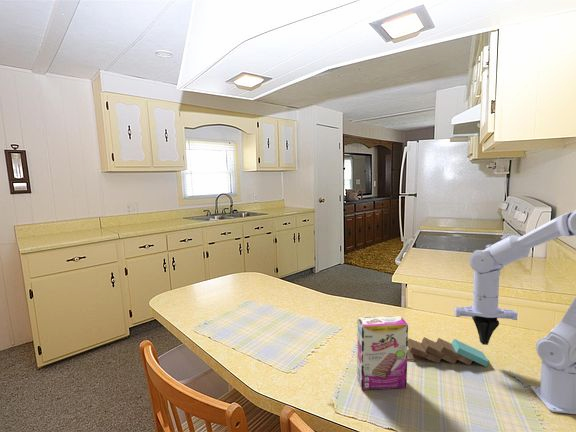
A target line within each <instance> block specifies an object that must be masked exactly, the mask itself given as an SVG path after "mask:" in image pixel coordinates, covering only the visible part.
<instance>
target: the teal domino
mask: <svg viewBox="0 0 576 432" xmlns="http://www.w3.org/2000/svg"><path fill="white" fill-rule="evenodd" d="M450 343H451V344H452V346H453V347H454V349H455V351H456V353H458V354H460V355H462V356H464V357H466V358H469V359H471V360H473V361H472V362H475V363H477V364H480V365H481V366H483V367H485V368H487V367H488V365H489V364H490V361H489V359H488V358H487V357H486V355H485V354H484V352H483V351H481V350H479V349H477V348H476V347H473V346H470V345H468V344H466V343H464V342H462V341H459V340H457V339H455V338H453V340H452V341H451V342H450Z"/></svg>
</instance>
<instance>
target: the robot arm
mask: <svg viewBox="0 0 576 432" xmlns="http://www.w3.org/2000/svg"><path fill="white" fill-rule="evenodd" d="M562 236H565V237H571V236H572V237H573V236H575V237H576V209H575V210H574V211H570V212H566V213H564V214H562V215H559V216H557V217H555V218H553V219H551V220H549V221H548V222H546V223H543V224H541V225H540V226H538V227H536V228H534V229H532V230H531V231H529V232H527V233H525V234H524V235H516V234H511V235H509V234H506V235H503V236H501V237H500V239H501V240H499V241H497V242H495V243H493V244H491V243H490V244H487V245H485V249H478V250H474V251H473V252H472V253H471V254H469V258H468V263H469V265H470V268H471V269H472V270H473V285H472V291H473V292H472V306H461V307H459V306H458V307H457V306H456V307H453V309H454V310H453V314H454V315H455V317H457V318H461V317H468V318H470V317H471V318H472V320H473V322H474V324H475V327H476V330H477V333H478V339H479V343H480V344H481V345H485V346H486V345H487V346H488V345H489V343H490V340H491V337H492V335H493V334H494V332H495V331H496V329H497V328H498V327H499V325H500V321H499V320H498V319H504V320H505V319H508V320H513V321H518V312H517V311H515V310H514V309H505V308H499V292H500V276H501V270H502V269H504V267H506V266H508V265H510V264H513V263H514V262H518V261H519V260H522V259H524V258H526V257H528V256H529V255H530V252H531V249H532V248H536V247H537V246H539V245H543V244H545V243H547V242H551V241H552V240H555V239H558V238H560V237H562ZM535 350H536V353H537V355H538V357H539V359H540V360H541V367H540V368H541V369H540V383H539V384H540V385H539V386H535V385H532V386H530V389H531V390H532V391H533V393H535V395H536V397H538V399H540V401H541V402H542V403H543V404H544V405H545V407H547V409H548V410H549V411H550V412H552V413H553V412H554V413H563V414H571V415H576V296H575V297H574V299H573V300H572V302H571V304H570V305H569V307H568V309H567V310H566V312H565V314H564V315H563V316H562V318H561V321H560V322H559V323H558V324H557V325H555V326H554V327H553V328H552V329H551V330H550V331H549V332H548V334H547V335H546V336H545V337H542V338H540V339H538V340H537V342H536V346H535Z"/></svg>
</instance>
